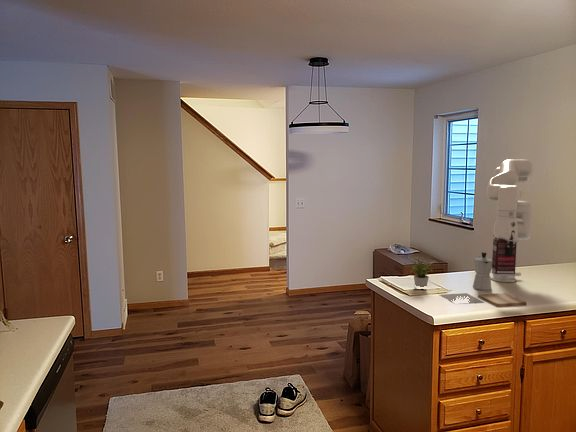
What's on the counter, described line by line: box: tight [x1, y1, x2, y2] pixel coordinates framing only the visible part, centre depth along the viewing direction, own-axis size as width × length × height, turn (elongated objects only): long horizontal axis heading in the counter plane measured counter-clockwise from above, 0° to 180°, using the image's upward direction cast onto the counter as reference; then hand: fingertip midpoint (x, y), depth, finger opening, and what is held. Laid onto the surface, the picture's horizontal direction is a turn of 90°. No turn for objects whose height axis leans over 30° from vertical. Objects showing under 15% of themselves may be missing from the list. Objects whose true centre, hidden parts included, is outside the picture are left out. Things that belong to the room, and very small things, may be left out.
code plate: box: [440, 292, 485, 304], centre depth 200 cm, size 14×14×1 cm
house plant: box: [407, 256, 436, 287], centre depth 215 cm, size 14×14×16 cm
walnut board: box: [477, 292, 527, 308], centre depth 196 cm, size 14×14×1 cm
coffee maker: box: [472, 252, 493, 291], centre depth 216 cm, size 15×9×18 cm, turn 168°
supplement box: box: [491, 239, 518, 277], centre depth 194 cm, size 9×5×16 cm, turn 85°
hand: (504, 254), depth 194 cm, fingers closed on supplement box, 5 cm apart
